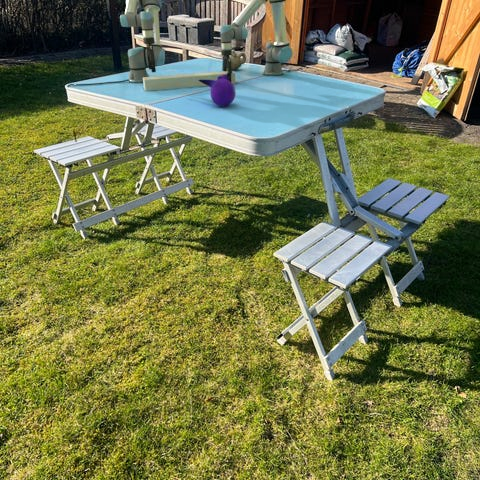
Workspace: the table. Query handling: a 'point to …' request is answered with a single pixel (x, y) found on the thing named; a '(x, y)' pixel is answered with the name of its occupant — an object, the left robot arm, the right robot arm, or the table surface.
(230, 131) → the table surface
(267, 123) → the table surface
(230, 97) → the toy
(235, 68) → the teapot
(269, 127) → the table surface
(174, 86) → the thick block
